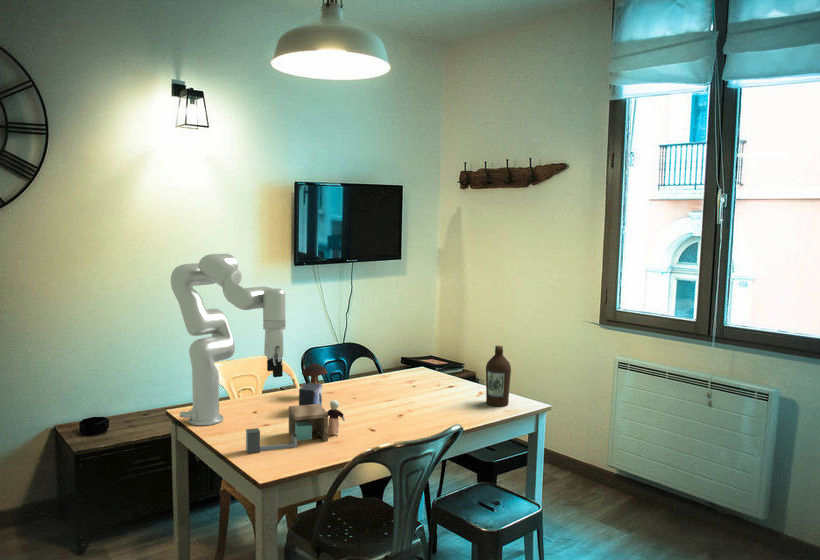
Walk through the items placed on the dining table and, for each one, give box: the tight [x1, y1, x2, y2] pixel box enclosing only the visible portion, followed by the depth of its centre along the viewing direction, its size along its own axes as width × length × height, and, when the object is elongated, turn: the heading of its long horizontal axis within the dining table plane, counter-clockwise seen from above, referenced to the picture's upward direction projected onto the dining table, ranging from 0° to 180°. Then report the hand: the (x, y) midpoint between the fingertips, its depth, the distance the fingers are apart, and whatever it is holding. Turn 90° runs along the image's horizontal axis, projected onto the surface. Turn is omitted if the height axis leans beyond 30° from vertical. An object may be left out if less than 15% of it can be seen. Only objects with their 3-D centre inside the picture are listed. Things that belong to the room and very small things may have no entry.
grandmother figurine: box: [326, 399, 346, 437], centre depth 228 cm, size 8×4×13 cm, turn 93°
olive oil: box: [485, 345, 512, 408], centre depth 272 cm, size 11×11×25 cm
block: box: [295, 421, 313, 441], centre depth 225 cm, size 5×5×5 cm
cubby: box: [288, 404, 329, 442], centre depth 225 cm, size 11×13×10 cm
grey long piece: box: [245, 427, 298, 455], centre depth 214 cm, size 16×6×7 cm, turn 111°
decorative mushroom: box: [301, 362, 328, 384], centre depth 276 cm, size 11×11×15 cm
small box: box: [298, 382, 323, 407], centre depth 255 cm, size 11×6×10 cm, turn 168°
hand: (274, 373), depth 220 cm, fingers open, 9 cm apart
